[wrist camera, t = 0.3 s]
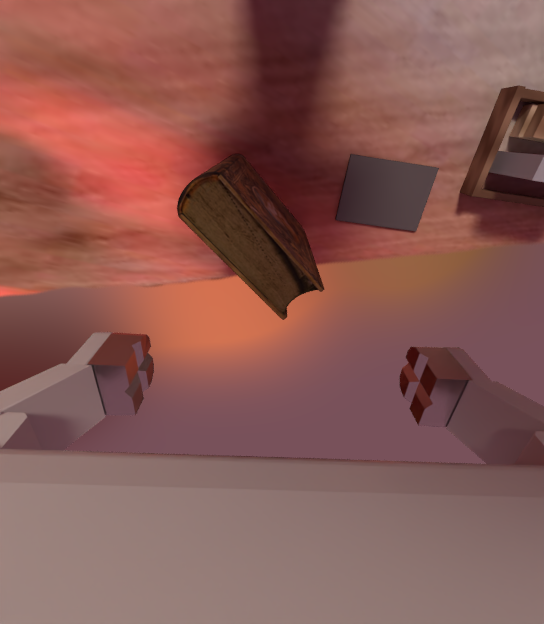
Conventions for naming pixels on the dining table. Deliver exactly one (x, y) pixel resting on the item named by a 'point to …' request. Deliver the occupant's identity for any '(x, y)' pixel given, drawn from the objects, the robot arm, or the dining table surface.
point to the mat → (385, 192)
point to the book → (251, 232)
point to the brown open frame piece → (492, 142)
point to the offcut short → (536, 125)
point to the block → (519, 165)
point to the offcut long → (524, 122)
